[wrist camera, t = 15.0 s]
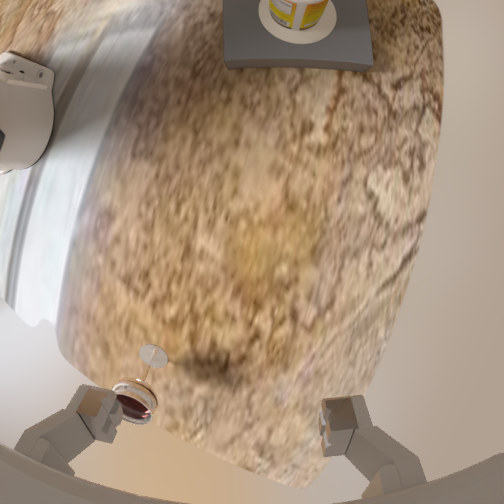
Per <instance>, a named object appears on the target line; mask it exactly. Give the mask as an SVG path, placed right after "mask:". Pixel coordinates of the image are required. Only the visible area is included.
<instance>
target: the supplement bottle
mask: <svg viewBox="0 0 504 504" xmlns="http://www.w3.org/2000/svg"><path fill="white" fill-rule="evenodd" d="M328 1H329V0H269V11H270V14H271V17H272V18H273V20H274V21H275V22H276V23H277V24H278V25H280V26H282V27H283V28H286V29H289V30H293V31H303V30H307V29H310V28H312V27H314V26H315V25H316V24H317V23H318V22H319V21H320V19H321V17H322V14H323V12H324V10H325V8H326V5H327V3H328Z"/></svg>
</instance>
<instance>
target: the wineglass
mask: <svg viewBox="0 0 504 504" xmlns="http://www.w3.org/2000/svg"><path fill="white" fill-rule="evenodd" d="M139 355H140V357H141V359H142V360H143V361H144V362H145V363H146V364H147V367H146V369H145V371H144V373H143V375H142V377H141V378H140V379H138V378H123V379H121V380H119V381H118V382H117V383H116V384H115V385H114V386H113V387H112V390H113V391H115V393H116V395H117V397H116V400H117V401H118V402H119V403H120V404H121V406H122V410H123V417H122V419H123V420H125V421H127V422H129V423H133V424H137V425H144V424H148V423H149V422H151V420H152V414H154V412H155V410H156V408H157V397H156V394H155V392H154V390H153V389H152V388H151V387H150V386H149V384H148V383H146V382H145V379H146V377H147V374H148V371H149V369H150V366H151V367H155V368H161V367H164V366H165V365H166V364H167V362H168V357H167V355H166V353H165V352H164V351H163V350H162V349H161V348H159V347H157V346H155V345H150V344H149V345H144V346H142V347H141V348H140V351H139Z"/></svg>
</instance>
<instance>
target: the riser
mask: <svg viewBox="0 0 504 504" xmlns="http://www.w3.org/2000/svg"><path fill="white" fill-rule="evenodd" d="M223 45H224V62H225V64H226V66H227V68H228V69H236V68H262V67H295V68H320V69H334V70H346V71H356V72H364V71H366V70H367V69H369V68H370V67H372V66H373V65H374V64H373V53H372V42H371V33H370V25H369V17H368V10H367V4H366V0H329V1H328V3H327V5H326V8H325V10H324V12H323V14H322V17H321V19H320V21H319V22H318V23H317V24H316V25H315V26H314V27H312V28H310V29H307V30H303V31H293V30H289V29H286V28H283V27H282V26H280V25H278V24H277V23H276V22H275V21H274V20H273V18H272V17H271V14H270V11H269V0H223Z"/></svg>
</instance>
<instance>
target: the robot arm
mask: <svg viewBox="0 0 504 504" xmlns="http://www.w3.org/2000/svg"><path fill="white" fill-rule="evenodd" d="M42 74H43V75H42ZM41 76H42V77H41ZM53 81H54V72H53V71H52V70H51V69H48V68H46V67H44V66H42V65H39V64H37V63H35V62H32V61H30V60H28V59H25V58H23V57H20V56H18V55H16V54H13V53H11V52H4V53H2V54H1V55H0V174H5V173H7V172H8V171H10V170H12V169H16V170H21V169H25V168H28V167H30V166H31V165H33V164H34V163H35V162H36V161H37V160H38V159H39V157H40V156H41V155H42V153H43V152H44V150H45V148H46V146H47V143H48V141H49V138H50V135H51V131H52V126H53V118H54V107H53V100H52V87H53ZM116 397H117V395H116V393H115V391H113V390H108V389H103V388H99V387H94V386H89V385H84V384H82V385H81V386H79V388H78V390H77V391H76V393H75V394H74V396H73V398H72V399H71V401H70V403H69V404H68V406H67V408H66V409H65V410H64V409H62V410H60V411H59V412H57V413H55V414H53V415H51V416H50V417H48V418H46V419H45V420H43V421H41V422H39V423H37V424H35V425H34V426H32V427H30V428H28V429H26V430H25V431H24V433H23V434H22V436H21V438H20V439H19V441H18V443H17V444H16V446H15V448H14V449H11V448H9V447H7V446H6V445H4V444H2V443H0V504H187V503H180V502H174V501H168V500H162V499H157V498H151V497H147V496H142V495H137V494H133V493H129V492H125V491H121V490H117V489H113V488H110V487H106V486H103V485H100V484H96V483H93V482H90V481H87V480H84V479H81V478H78V477H75V476H74V474H75V472H74V470H73V469H72V468H71V467H70V466H69V465H68V462H70V461H71V460H72V459H74V458H75V457H76V456H77V455H78V454H80V453H81V452H82V451H83V450H85V449H86V448H87V447H88V446H89V445H90V444H92V443H93V442H94V441H95V440H98V441H103V442H107V443H113V440H114V438H115V436H116V433H117V430H116V428H115V427H116V426H118V425H119V424H120V423H121V421H122V417H123V410H122V406H121V404H120V403H119V402H118V401H117V400H116ZM321 406H322V411H321V412H320V415H319V431H320V435H321V436H322V437H323V438H322V443H321V445H322V451H323V457H328V456H339V455H345V456H346V457H347V458H348V460H350V461H351V463H352V464H353V465H354V466H355V467H356V468H357V469H358V470H359V471H360V472H361V473H362V474H363V475H364V476H365V477H366V478H367V479H368V480H369V481H370V484H369V485H368V487H367V488H366V490H365V491H364V492H363V494H362V499H360V500H353V501H348V502H341V503H334V504H504V453H499V454H497V455H494V456H492V457H490V458H488V459H486V460H484V461H482V462H480V463H478V464H475V465H473V466H470V467H468V468H466V469H463V470H461V471H458V472H456V473H453V474H450V475H448V476H445V477H442V478H439V479H437V480H434V481H430V482H427V481H426V478H425V475H424V472H423V469H422V466H421V463H420V460H419V458H418V456H416V455H415V454H414V453H412V452H411V451H409V450H408V449H407V448H405V447H404V446H403V445H401V444H400V443H399V442H397V441H396V440H395V439H393V438H392V437H391V436H389V435H388V434H387V433H385V432H384V431H382V430H381V429H380V428H379V427H377V426H373V425H372V422H371V419H370V415H369V412H368V409H367V406H366V403H365V400H364V397H363V396H362V395H356V396H345V397H336V398H326V399H323V400H322V404H321Z"/></svg>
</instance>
